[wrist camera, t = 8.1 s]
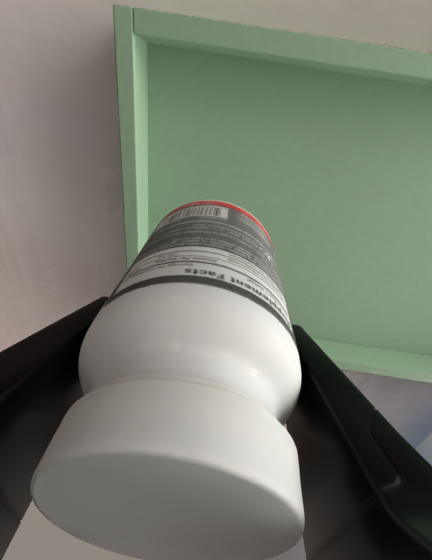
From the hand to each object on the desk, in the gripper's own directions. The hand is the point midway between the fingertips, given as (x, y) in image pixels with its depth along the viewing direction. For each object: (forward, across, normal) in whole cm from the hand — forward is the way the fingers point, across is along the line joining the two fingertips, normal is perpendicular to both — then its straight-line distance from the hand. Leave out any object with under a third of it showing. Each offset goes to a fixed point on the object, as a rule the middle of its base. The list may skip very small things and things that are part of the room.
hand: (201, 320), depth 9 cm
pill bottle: (+5, 0, 0) cm, 5 cm away
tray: (+10, -9, 0) cm, 13 cm away
